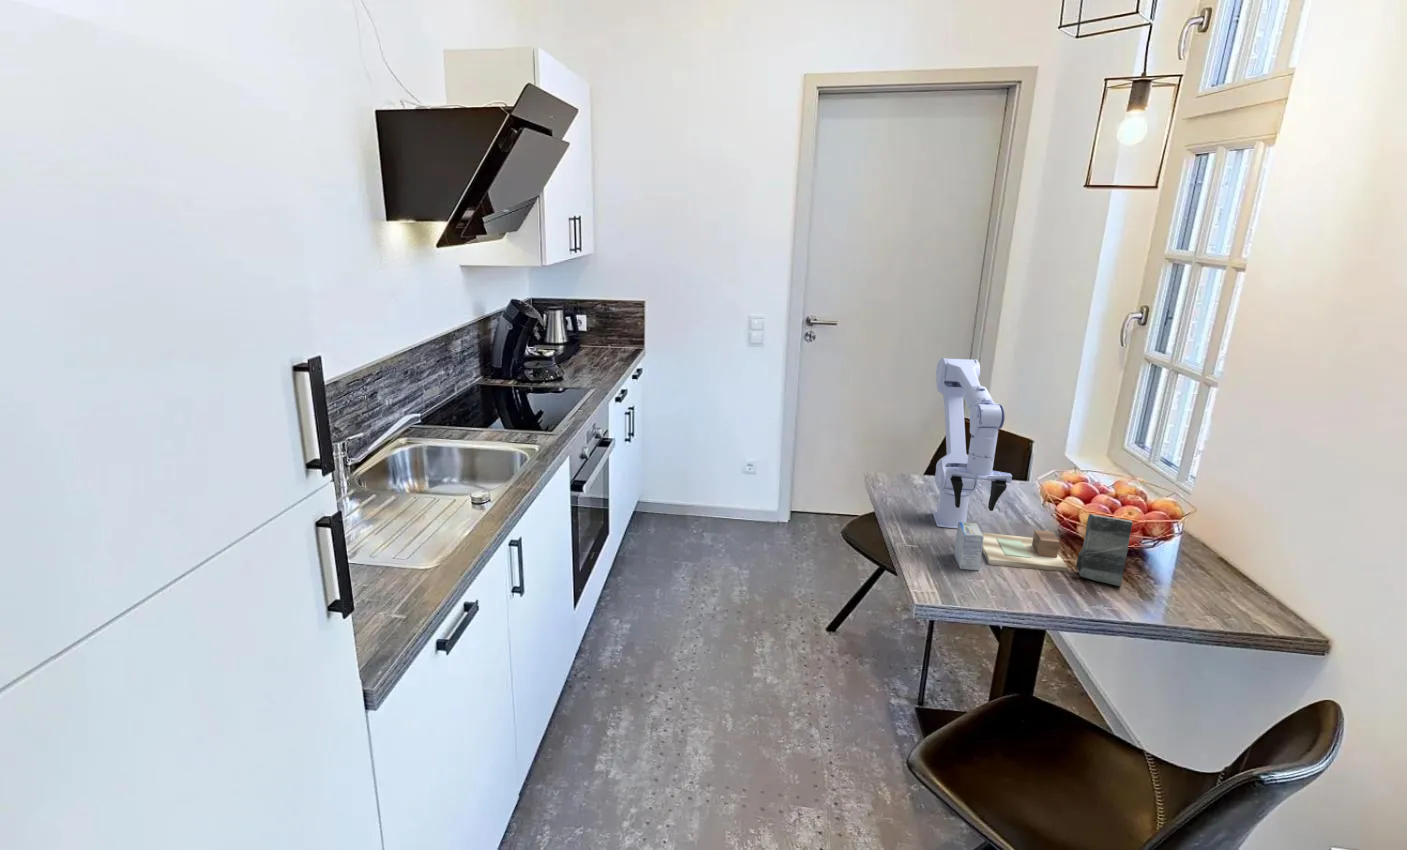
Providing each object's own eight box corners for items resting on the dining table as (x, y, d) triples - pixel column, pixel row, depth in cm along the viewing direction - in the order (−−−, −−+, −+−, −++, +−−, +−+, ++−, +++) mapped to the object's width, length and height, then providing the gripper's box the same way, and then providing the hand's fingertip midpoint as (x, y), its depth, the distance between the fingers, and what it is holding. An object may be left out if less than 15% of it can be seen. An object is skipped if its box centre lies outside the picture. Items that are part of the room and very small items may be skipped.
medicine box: (979, 571, 157) (984, 536, 154) (958, 569, 157) (963, 534, 155) (972, 556, 164) (977, 522, 162) (953, 554, 165) (957, 520, 163)
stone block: (1075, 573, 157) (1074, 576, 153) (1086, 511, 157) (1086, 512, 153) (1120, 584, 153) (1120, 587, 148) (1131, 520, 153) (1133, 521, 148)
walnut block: (1031, 545, 168) (1034, 530, 167) (1049, 547, 167) (1052, 531, 166) (1038, 555, 162) (1041, 540, 161) (1056, 557, 161) (1059, 542, 160)
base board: (975, 537, 175) (976, 531, 175) (1046, 544, 172) (1047, 538, 172) (988, 565, 160) (989, 558, 159) (1067, 573, 157) (1068, 566, 156)
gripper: (952, 456, 160) (944, 510, 164) (1018, 461, 158) (1009, 517, 161) (947, 447, 167) (940, 500, 170) (1010, 453, 164) (1002, 506, 168)
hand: (973, 507), depth 166 cm, fingers open, 7 cm apart
